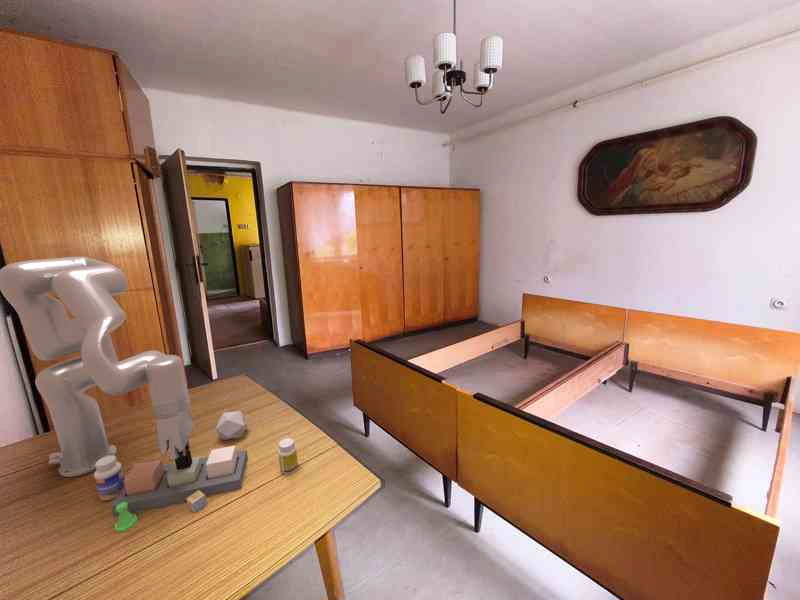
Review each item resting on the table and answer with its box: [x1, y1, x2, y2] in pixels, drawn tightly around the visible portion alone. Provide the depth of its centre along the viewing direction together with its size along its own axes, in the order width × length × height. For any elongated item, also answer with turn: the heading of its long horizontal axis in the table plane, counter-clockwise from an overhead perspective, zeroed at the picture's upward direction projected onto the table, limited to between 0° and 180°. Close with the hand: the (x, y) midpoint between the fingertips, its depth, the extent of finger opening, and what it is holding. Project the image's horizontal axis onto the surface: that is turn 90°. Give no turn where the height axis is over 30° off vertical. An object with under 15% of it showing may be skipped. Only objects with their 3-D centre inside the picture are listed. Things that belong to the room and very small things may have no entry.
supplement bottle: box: [278, 437, 299, 475], centre depth 92 cm, size 5×5×8 cm
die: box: [214, 410, 249, 441], centre depth 107 cm, size 8×9×10 cm
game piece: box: [114, 502, 139, 533], centre depth 76 cm, size 4×4×6 cm
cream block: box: [206, 445, 238, 479], centre depth 89 cm, size 6×6×5 cm
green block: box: [167, 456, 202, 487], centre depth 87 cm, size 6×6×5 cm
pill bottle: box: [93, 455, 126, 501], centre depth 85 cm, size 5×5×10 cm
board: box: [110, 449, 249, 518], centre depth 88 cm, size 28×12×3 cm, turn 106°
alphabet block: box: [186, 490, 208, 514], centre depth 81 cm, size 3×3×3 cm
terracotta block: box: [124, 459, 165, 496], centre depth 84 cm, size 6×6×5 cm
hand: (184, 466), depth 87 cm, fingers closed
